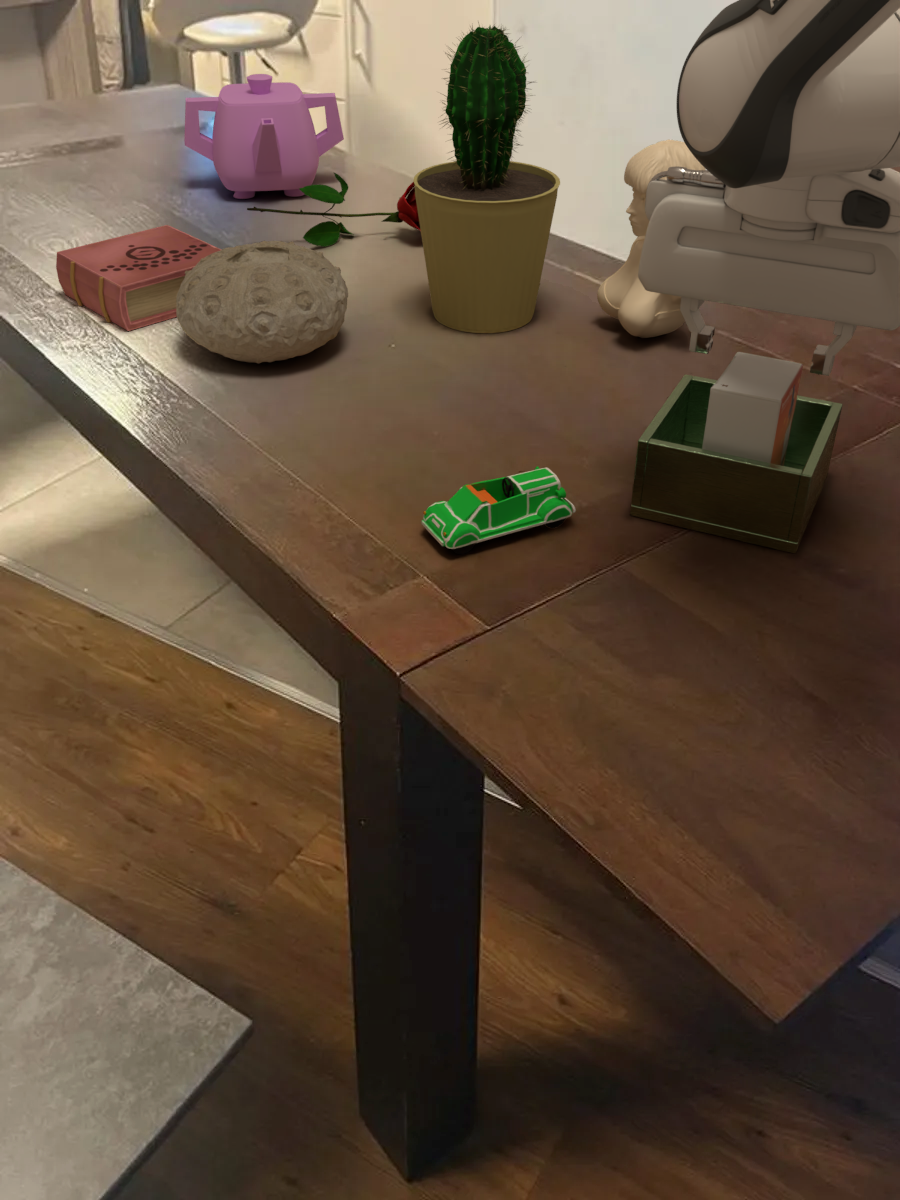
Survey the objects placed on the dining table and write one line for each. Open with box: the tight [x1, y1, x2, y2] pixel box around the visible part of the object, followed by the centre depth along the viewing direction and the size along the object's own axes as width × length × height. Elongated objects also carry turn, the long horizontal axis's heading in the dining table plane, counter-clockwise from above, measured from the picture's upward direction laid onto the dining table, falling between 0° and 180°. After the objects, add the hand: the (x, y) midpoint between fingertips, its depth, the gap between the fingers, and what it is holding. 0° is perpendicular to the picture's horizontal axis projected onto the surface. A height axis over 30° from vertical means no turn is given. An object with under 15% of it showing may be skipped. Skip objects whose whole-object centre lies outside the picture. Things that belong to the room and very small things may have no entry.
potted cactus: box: [412, 21, 561, 334], centre depth 124 cm, size 15×15×30 cm
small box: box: [702, 351, 804, 466], centre depth 96 cm, size 8×6×10 cm
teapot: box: [183, 73, 345, 200], centre depth 167 cm, size 19×18×15 cm
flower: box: [246, 171, 421, 248], centre depth 150 cm, size 9×10×30 cm
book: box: [55, 224, 222, 332], centre depth 135 cm, size 14×15×5 cm
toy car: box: [420, 466, 577, 555], centre depth 95 cm, size 12×5×4 cm, turn 117°
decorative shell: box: [176, 240, 349, 365], centre depth 123 cm, size 18×18×10 cm
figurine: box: [596, 139, 707, 339], centre depth 123 cm, size 14×9×20 cm
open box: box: [629, 374, 843, 554], centre depth 98 cm, size 14×14×7 cm
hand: (759, 361), depth 92 cm, fingers open, 8 cm apart
